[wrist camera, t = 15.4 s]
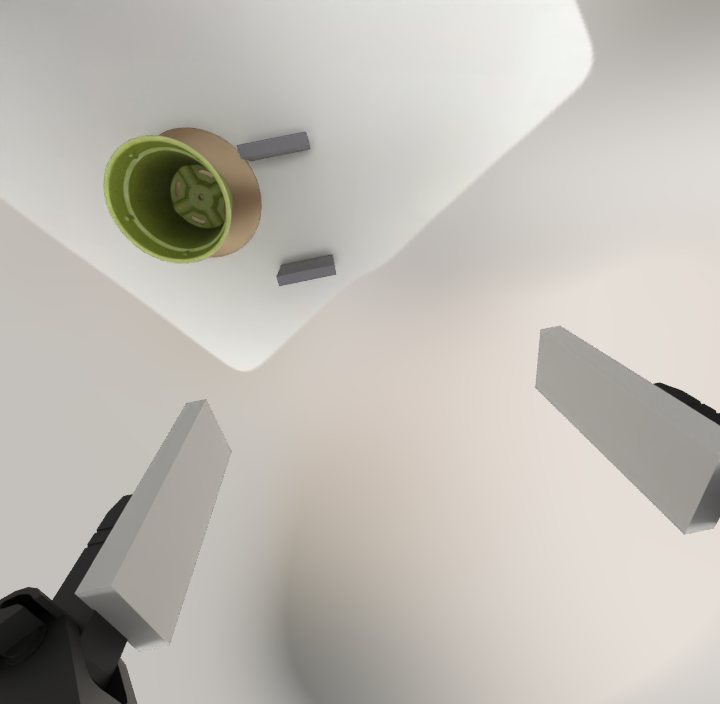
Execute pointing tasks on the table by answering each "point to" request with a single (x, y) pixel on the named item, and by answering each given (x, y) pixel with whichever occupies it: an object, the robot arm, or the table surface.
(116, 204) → the plant pot
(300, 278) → the twin grey plates
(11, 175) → the table surface
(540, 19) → the table surface
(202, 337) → the table surface
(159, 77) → the table surface
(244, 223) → the coaster
